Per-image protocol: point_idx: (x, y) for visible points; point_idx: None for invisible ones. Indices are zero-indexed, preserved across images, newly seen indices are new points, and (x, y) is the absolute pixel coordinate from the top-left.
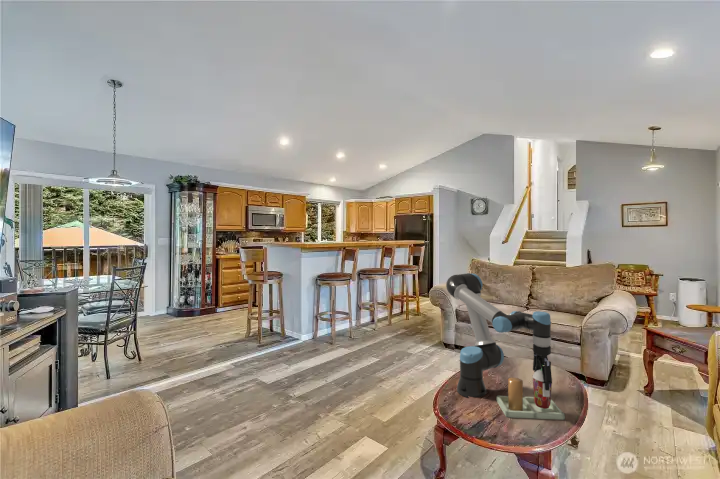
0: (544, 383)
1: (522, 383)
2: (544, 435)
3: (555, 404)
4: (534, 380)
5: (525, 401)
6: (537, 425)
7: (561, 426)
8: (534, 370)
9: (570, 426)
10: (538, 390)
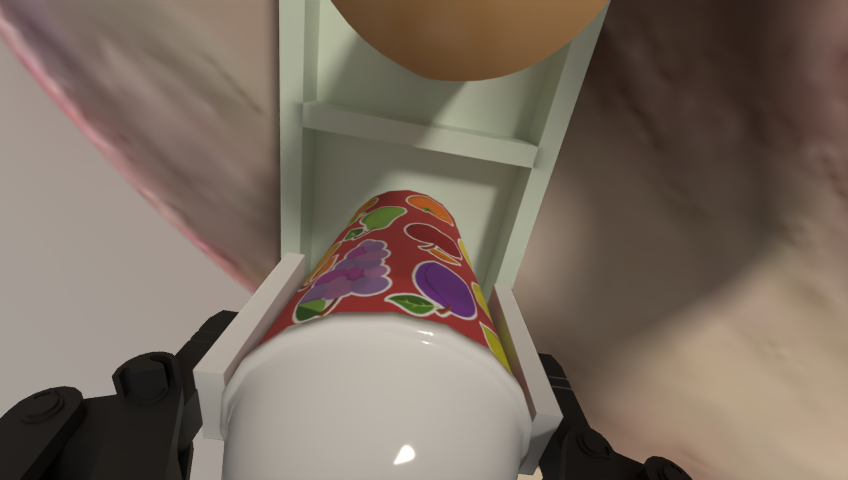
0: (202, 372)
1: (358, 33)
2: (108, 58)
3: None
4: (359, 295)
5: (472, 136)
6: (235, 84)
7: (246, 233)
8: (614, 476)
9: (253, 278)
10: (334, 252)
